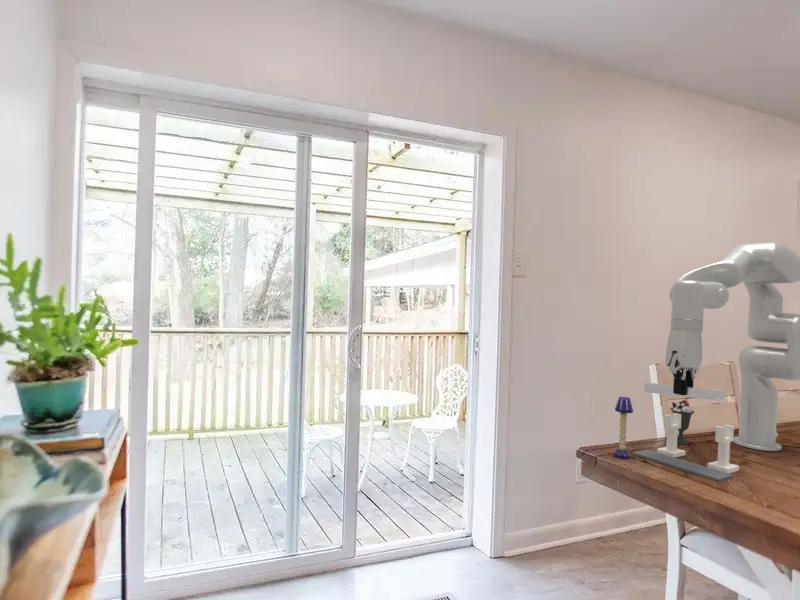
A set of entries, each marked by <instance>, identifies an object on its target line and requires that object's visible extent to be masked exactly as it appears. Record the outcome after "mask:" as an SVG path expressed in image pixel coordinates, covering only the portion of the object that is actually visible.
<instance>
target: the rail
mask: <svg viewBox="0 0 800 600" xmlns="http://www.w3.org/2000/svg"><path fill="white" fill-rule="evenodd" d="M643 384H644V388H643V389H644V393H652V394H660V395H668V396H676V397H677V396H678V397H684V398H685V397H686V398H687V397H688V398H689V397H690V398H693V399H699V400H701V399H702V400H708V401H709V400H711V401H719V402H720V401H721V402H722V401H725V390H724V389H716V388H707V387H706V388H704V387H695V386H693V387H687V389H686V395H679V394H674V393H673V387H674V384H665V383H655V382H645V383H643Z"/></svg>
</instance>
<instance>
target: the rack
mask: <svg viewBox="0 0 800 600" xmlns="http://www.w3.org/2000/svg"><path fill="white" fill-rule="evenodd" d="M679 428H681V414H677V413H673V412H672V415H670V414H666V413H665V414H664V419H663V429H666V444H665V446H663V447H659V448H656V452H658V453H661V454H665V455H668V456H671V457H675V458H678V457H679V458H680V457H683V456H684V457H685V456H686V453H687V451H686V450H683V449H680V448H678V443H677V438H678V435H679V431H678V429H679ZM734 430H735V426H734V425H730V424H724V425H723V426H720V425H716V426H715V435H714V438H715V439H714V442H716V443H717V459H716V460H715V461H712V462H711V461H710V462H707V463H706V465H707V466H706V467H708V468H712V469H715V470H718V471H722V472H725V473H728V474H732V473H735V472H739V470H740V466H739V465H737V464H733V463H730V456H731V455H730V453H731V443H732V442H733V438H734V437H735V435H734V433H735V431H734Z"/></svg>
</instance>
